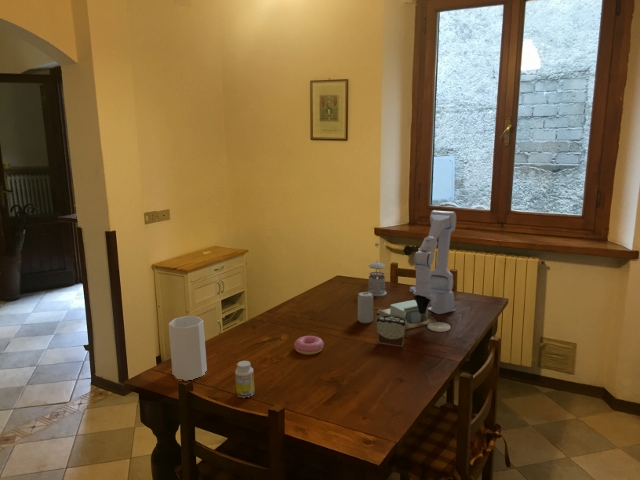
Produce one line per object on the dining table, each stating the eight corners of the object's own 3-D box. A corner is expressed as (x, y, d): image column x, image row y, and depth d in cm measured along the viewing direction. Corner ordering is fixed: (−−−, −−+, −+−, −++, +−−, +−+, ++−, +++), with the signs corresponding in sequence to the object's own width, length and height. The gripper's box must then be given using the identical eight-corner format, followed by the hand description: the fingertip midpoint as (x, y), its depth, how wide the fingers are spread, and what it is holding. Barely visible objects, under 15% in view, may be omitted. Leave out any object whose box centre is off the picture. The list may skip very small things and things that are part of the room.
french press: (365, 295, 250) (365, 245, 244) (367, 288, 261) (367, 239, 255) (386, 296, 248) (387, 245, 243) (387, 289, 259) (387, 240, 254)
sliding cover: (413, 310, 225) (413, 297, 224) (427, 317, 217) (427, 304, 215) (390, 315, 220) (390, 302, 218) (403, 322, 211) (403, 309, 210)
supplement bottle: (246, 387, 164) (244, 357, 161) (258, 393, 160) (256, 362, 158) (232, 395, 159) (230, 364, 157) (244, 400, 156) (243, 369, 154)
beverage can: (373, 318, 220) (373, 291, 217) (373, 324, 214) (373, 296, 211) (357, 318, 221) (357, 291, 218) (357, 323, 214) (357, 296, 212)
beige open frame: (405, 307, 233) (405, 303, 232) (435, 322, 214) (435, 318, 214) (377, 313, 226) (377, 309, 226) (406, 329, 208) (406, 325, 207)
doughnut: (289, 354, 188) (289, 343, 187) (301, 342, 198) (300, 332, 197) (317, 358, 184) (317, 347, 183) (328, 345, 194) (327, 335, 193)
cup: (189, 384, 166) (185, 330, 162) (165, 376, 172) (160, 323, 168) (214, 370, 175) (210, 319, 171) (190, 363, 181) (186, 313, 177)
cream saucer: (440, 322, 215) (440, 320, 215) (455, 329, 207) (455, 327, 207) (422, 326, 211) (422, 324, 211) (437, 333, 203) (437, 332, 203)
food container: (410, 341, 196) (411, 316, 194) (406, 347, 191) (407, 321, 189) (379, 336, 202) (380, 311, 199) (374, 342, 196) (374, 317, 194)
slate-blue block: (414, 319, 219) (414, 307, 218) (420, 322, 215) (421, 311, 214) (405, 320, 217) (405, 309, 216) (411, 324, 213) (412, 312, 212)
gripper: (404, 277, 211) (403, 309, 214) (426, 287, 198) (425, 320, 201) (418, 275, 214) (417, 306, 217) (441, 284, 202) (439, 317, 204)
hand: (422, 313), depth 209 cm, fingers closed
